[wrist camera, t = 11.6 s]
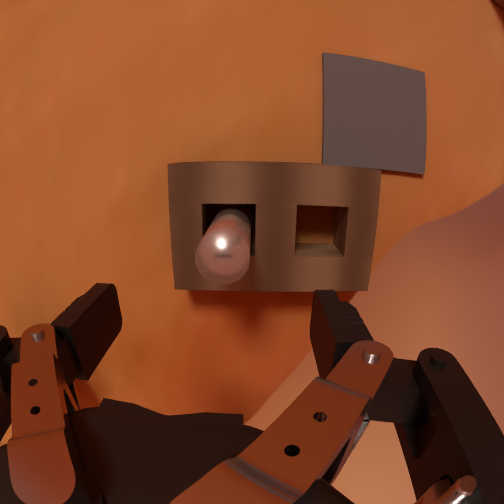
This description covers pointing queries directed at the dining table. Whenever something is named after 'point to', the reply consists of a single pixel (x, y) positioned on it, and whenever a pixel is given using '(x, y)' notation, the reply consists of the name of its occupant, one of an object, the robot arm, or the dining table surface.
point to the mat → (373, 114)
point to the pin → (226, 246)
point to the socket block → (277, 222)
